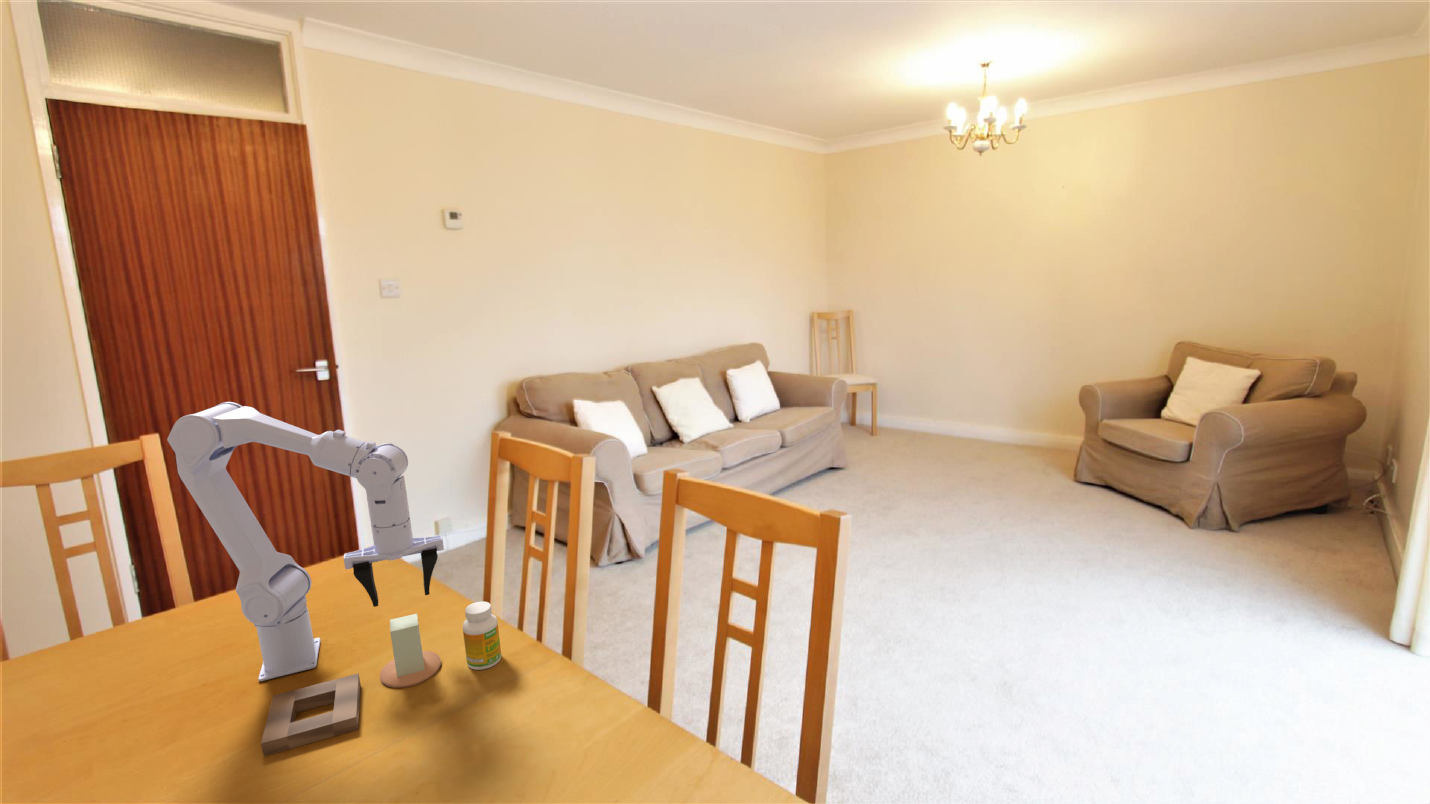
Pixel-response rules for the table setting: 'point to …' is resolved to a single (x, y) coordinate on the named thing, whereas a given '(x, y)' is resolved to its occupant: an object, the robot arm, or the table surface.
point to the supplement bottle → (481, 636)
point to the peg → (406, 645)
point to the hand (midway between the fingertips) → (401, 598)
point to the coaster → (430, 668)
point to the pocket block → (292, 733)
